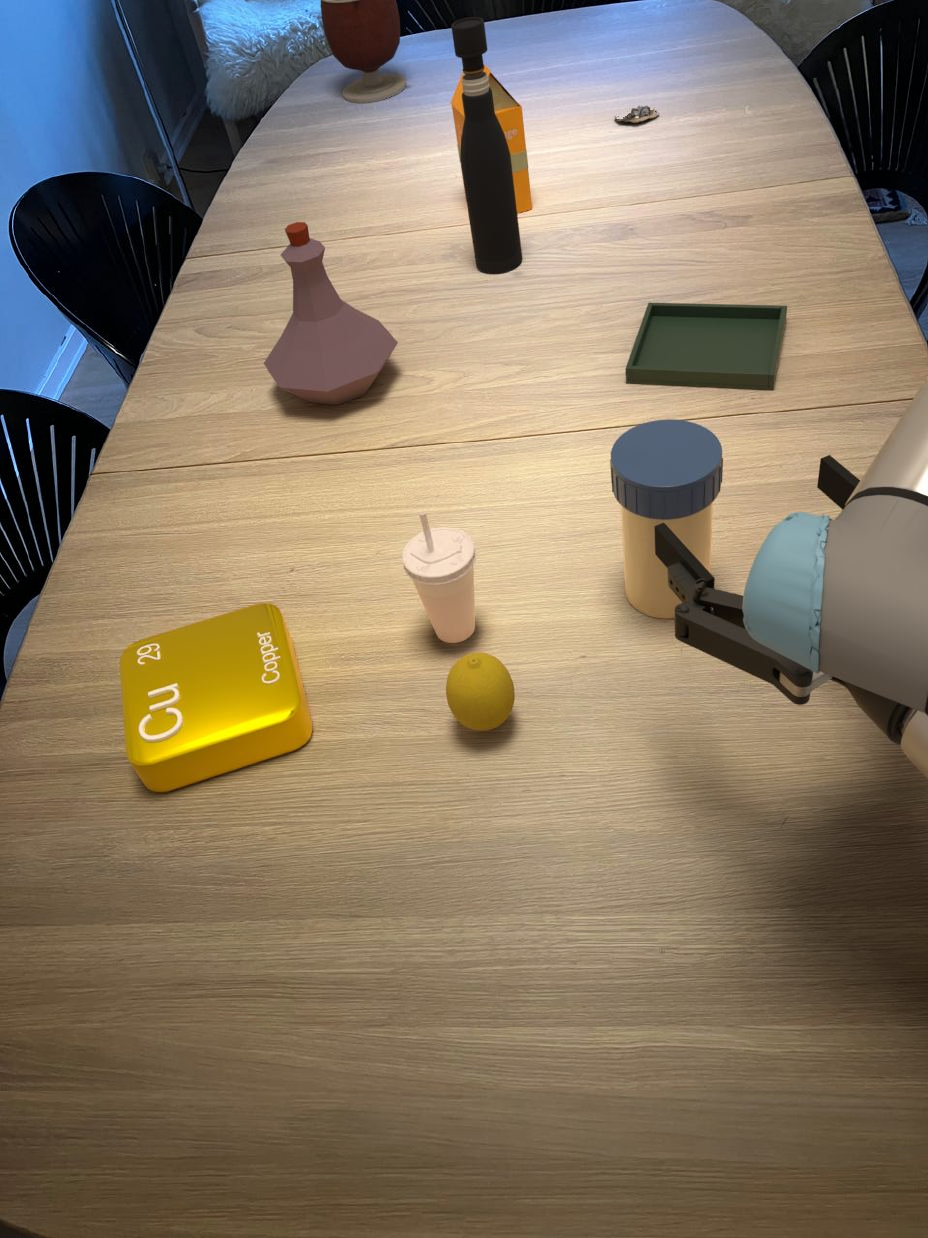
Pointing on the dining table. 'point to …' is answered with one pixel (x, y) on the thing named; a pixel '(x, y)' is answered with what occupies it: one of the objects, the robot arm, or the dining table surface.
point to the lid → (666, 469)
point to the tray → (708, 345)
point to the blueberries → (639, 114)
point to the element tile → (212, 698)
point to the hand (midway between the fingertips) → (742, 503)
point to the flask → (324, 333)
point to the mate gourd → (364, 44)
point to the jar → (647, 570)
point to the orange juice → (512, 128)
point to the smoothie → (444, 578)
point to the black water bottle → (485, 159)
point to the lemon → (480, 691)
